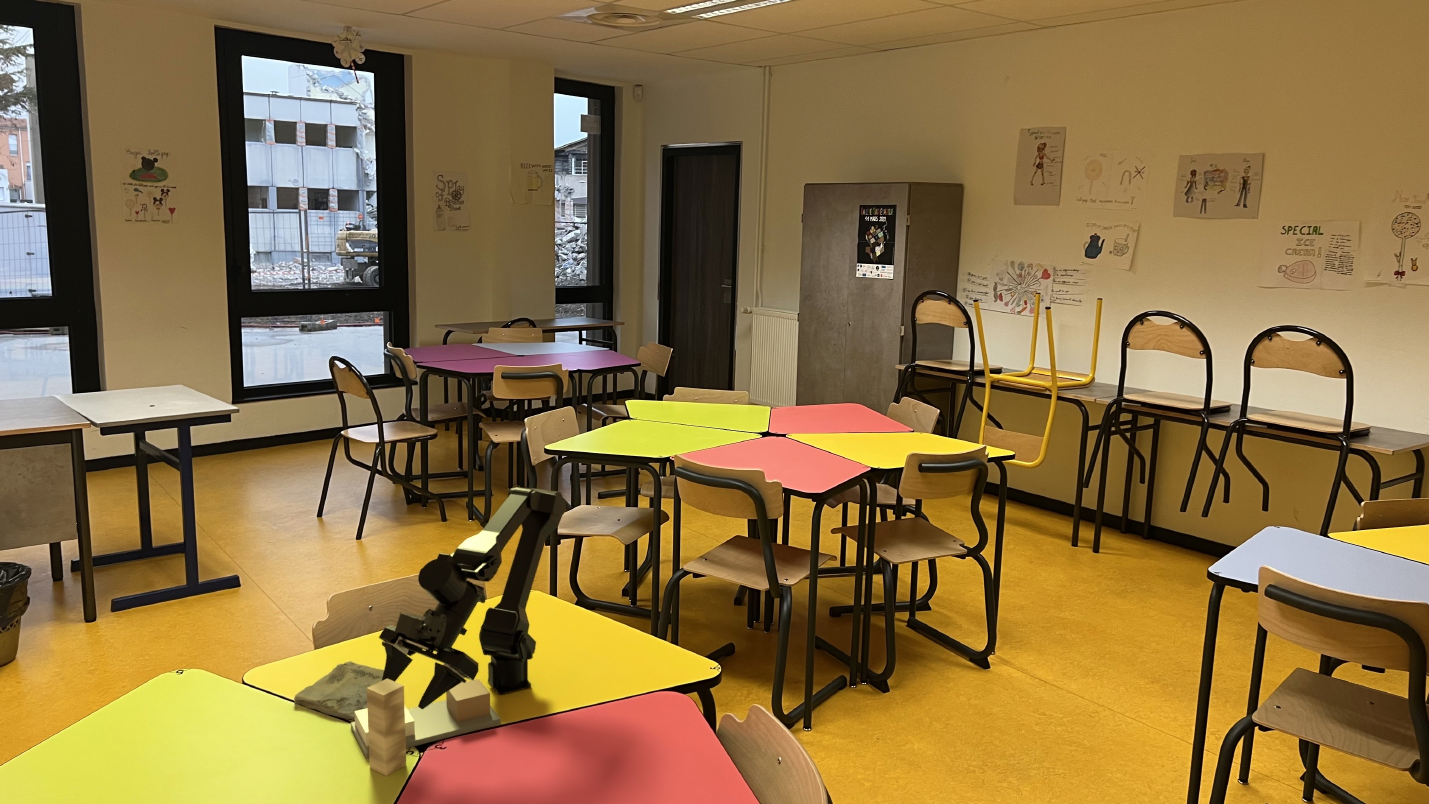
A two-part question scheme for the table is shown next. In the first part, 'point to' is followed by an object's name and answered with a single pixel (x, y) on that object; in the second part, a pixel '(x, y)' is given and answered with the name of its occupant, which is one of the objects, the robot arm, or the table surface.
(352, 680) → the fossil rock
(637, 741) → the table surface
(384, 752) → the beech pillar
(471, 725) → the building board
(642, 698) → the table surface
